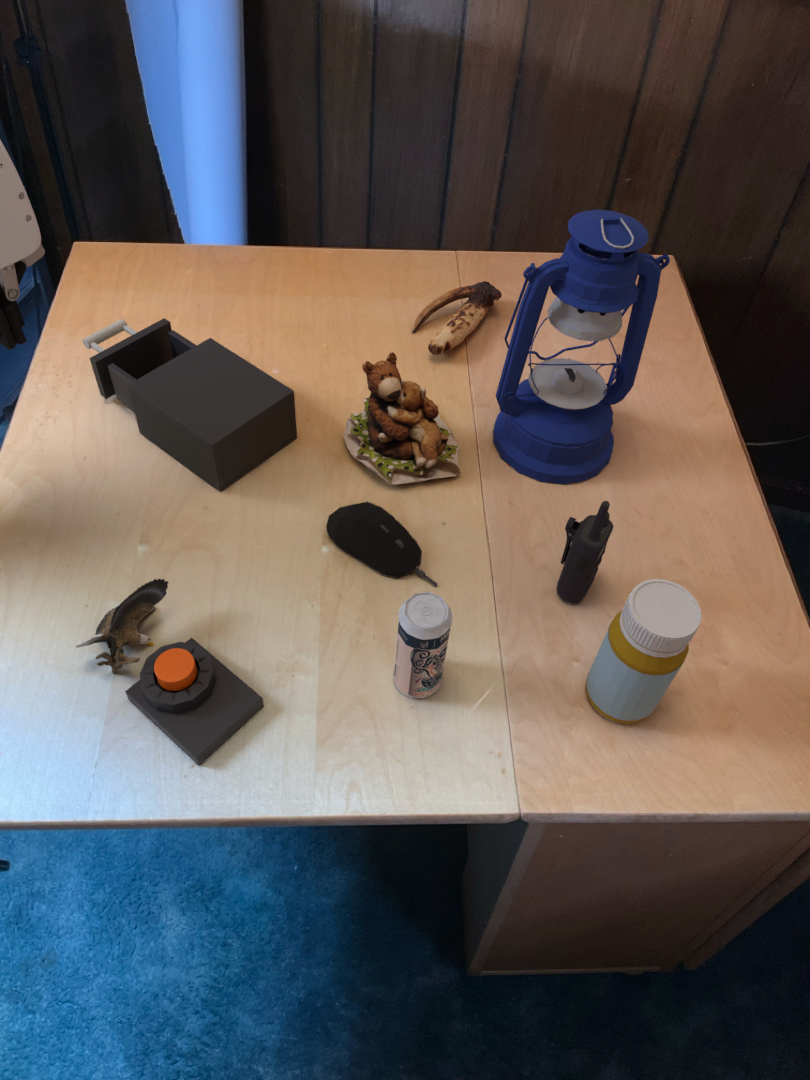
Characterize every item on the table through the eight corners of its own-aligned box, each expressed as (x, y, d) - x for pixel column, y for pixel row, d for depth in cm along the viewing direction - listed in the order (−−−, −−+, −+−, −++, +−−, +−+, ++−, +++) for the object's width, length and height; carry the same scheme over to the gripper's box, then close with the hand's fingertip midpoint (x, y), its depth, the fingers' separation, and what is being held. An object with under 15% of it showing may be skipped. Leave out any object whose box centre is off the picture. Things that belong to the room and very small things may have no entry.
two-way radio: (578, 612, 86) (614, 519, 74) (540, 594, 87) (569, 500, 75) (596, 576, 89) (633, 482, 77) (559, 559, 90) (590, 464, 78)
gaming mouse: (418, 604, 85) (421, 582, 82) (315, 533, 90) (314, 509, 87) (454, 569, 88) (457, 546, 85) (352, 502, 94) (352, 478, 91)
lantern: (504, 491, 96) (553, 266, 73) (471, 407, 105) (506, 184, 82) (637, 475, 99) (725, 254, 76) (594, 395, 108) (661, 176, 85)
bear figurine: (375, 504, 94) (378, 426, 84) (329, 422, 102) (328, 343, 93) (479, 474, 98) (493, 396, 88) (427, 397, 106) (434, 319, 97)
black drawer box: (139, 433, 99) (126, 385, 93) (217, 385, 106) (210, 337, 100) (220, 492, 94) (211, 445, 88) (297, 438, 100) (294, 390, 94)
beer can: (418, 710, 77) (428, 643, 68) (382, 679, 79) (387, 610, 70) (451, 678, 80) (464, 609, 70) (415, 649, 81) (424, 578, 72)
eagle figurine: (170, 674, 77) (189, 589, 81) (112, 649, 72) (135, 559, 76) (115, 684, 80) (135, 602, 85) (56, 659, 75) (81, 573, 79)
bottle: (612, 651, 83) (656, 561, 71) (668, 697, 80) (723, 611, 68) (569, 690, 79) (607, 603, 68) (625, 740, 76) (675, 658, 65)
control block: (126, 698, 76) (118, 680, 74) (192, 644, 80) (187, 625, 78) (199, 766, 72) (193, 749, 70) (264, 706, 77) (261, 688, 74)
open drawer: (72, 374, 104) (59, 337, 99) (143, 335, 110) (134, 298, 105) (170, 446, 97) (162, 409, 92) (241, 400, 103) (236, 364, 98)
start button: (149, 675, 74) (145, 665, 73) (179, 650, 76) (176, 640, 75) (174, 698, 73) (171, 689, 72) (205, 673, 75) (202, 663, 74)
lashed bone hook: (451, 290, 123) (392, 348, 113) (454, 261, 120) (393, 318, 109) (507, 308, 120) (451, 369, 110) (511, 279, 117) (454, 340, 106)
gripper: (-11, 74, 61) (57, 287, 75) (-215, 135, 53) (-98, 359, 67) (49, 106, 58) (107, 320, 72) (-158, 175, 51) (-48, 400, 65)
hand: (8, 339), depth 70 cm, fingers closed
